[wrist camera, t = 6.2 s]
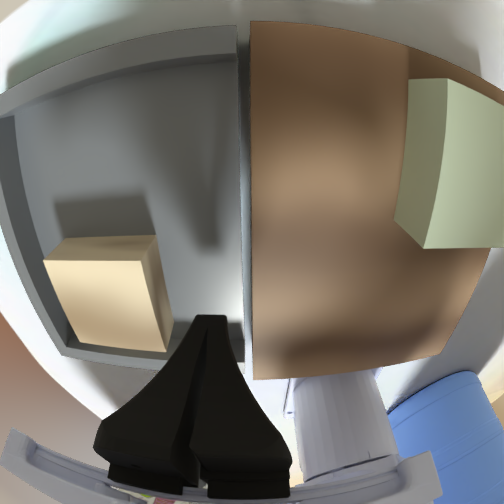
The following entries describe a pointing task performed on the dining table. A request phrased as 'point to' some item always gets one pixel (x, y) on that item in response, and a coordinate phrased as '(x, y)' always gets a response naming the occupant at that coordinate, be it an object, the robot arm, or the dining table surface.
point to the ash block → (113, 290)
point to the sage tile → (452, 167)
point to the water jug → (455, 438)
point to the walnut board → (342, 206)
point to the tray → (131, 175)
